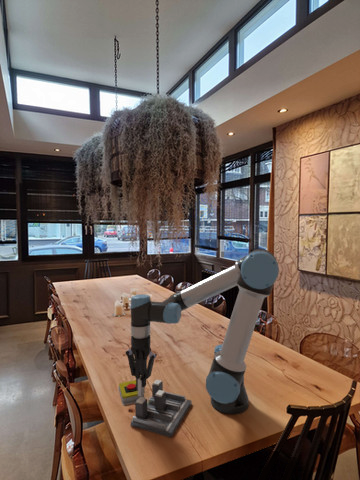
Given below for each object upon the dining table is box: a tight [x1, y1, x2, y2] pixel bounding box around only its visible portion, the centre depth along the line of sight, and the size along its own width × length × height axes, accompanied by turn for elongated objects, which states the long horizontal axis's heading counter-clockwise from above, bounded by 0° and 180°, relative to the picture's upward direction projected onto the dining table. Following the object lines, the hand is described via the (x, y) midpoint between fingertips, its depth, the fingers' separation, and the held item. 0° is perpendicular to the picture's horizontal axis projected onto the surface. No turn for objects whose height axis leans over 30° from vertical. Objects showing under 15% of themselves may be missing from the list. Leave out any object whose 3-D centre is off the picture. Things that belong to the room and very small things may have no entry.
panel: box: [130, 391, 193, 438], centre depth 109 cm, size 16×20×3 cm
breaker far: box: [151, 379, 164, 397], centre depth 117 cm, size 3×4×7 cm
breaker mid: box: [155, 390, 167, 411], centre depth 110 cm, size 3×4×7 cm
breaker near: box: [134, 396, 148, 419], centre depth 105 cm, size 3×4×7 cm
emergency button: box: [117, 379, 145, 406], centre depth 124 cm, size 9×4×15 cm
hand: (141, 393), depth 113 cm, fingers closed
